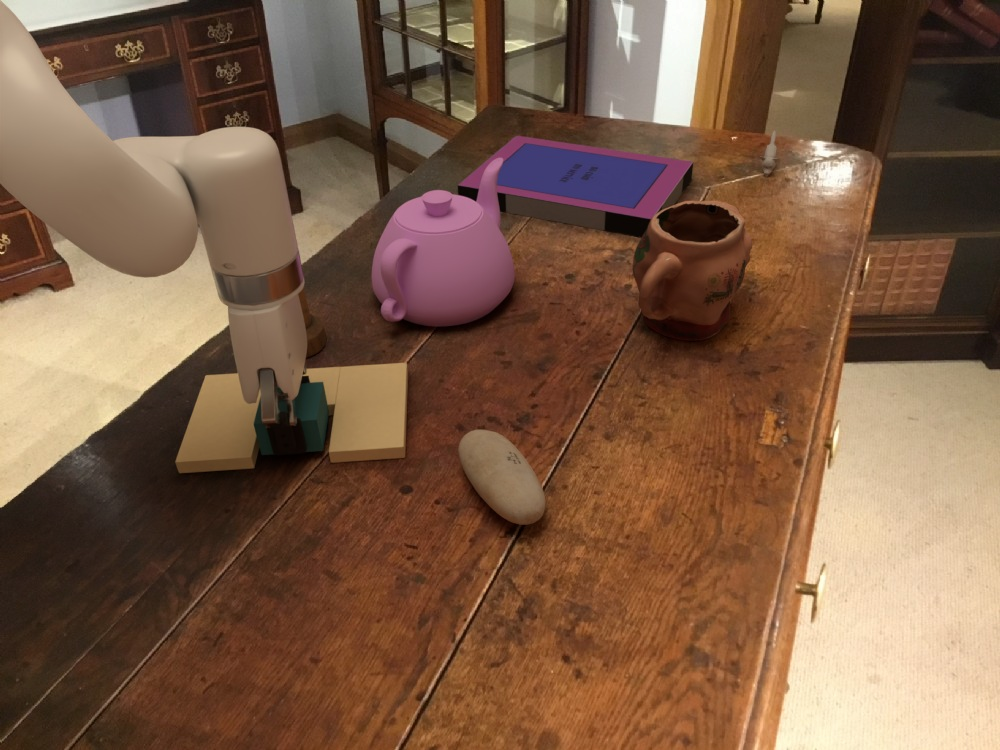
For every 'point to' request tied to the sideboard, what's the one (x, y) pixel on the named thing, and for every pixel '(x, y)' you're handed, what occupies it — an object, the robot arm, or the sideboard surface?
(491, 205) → the teapot
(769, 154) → the dog figurine
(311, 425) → the teal block
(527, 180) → the book
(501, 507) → the stone
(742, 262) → the decorative planter
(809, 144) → the sideboard surface
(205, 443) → the tan u-shaped block
